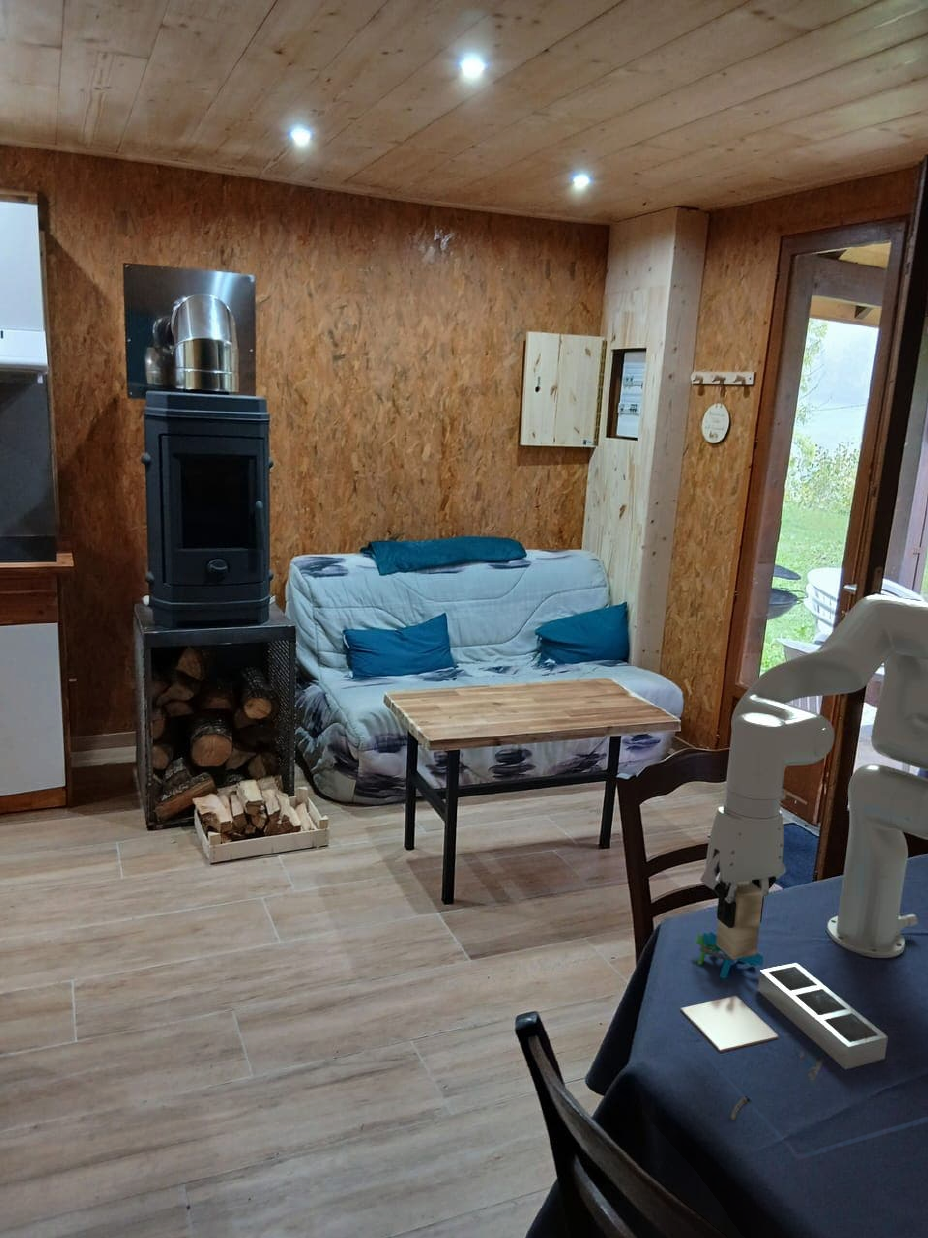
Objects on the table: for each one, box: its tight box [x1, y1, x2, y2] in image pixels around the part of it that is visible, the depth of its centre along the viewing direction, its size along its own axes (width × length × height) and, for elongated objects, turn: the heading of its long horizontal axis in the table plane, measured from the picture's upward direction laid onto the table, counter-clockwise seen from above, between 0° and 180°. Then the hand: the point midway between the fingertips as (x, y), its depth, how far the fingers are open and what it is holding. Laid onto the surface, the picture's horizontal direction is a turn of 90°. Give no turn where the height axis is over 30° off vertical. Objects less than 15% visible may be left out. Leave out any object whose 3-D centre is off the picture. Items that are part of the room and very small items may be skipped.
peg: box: [716, 881, 763, 960], centre depth 135 cm, size 4×4×10 cm
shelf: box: [757, 962, 889, 1070], centre depth 139 cm, size 7×19×4 cm, turn 21°
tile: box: [680, 995, 779, 1053], centre depth 139 cm, size 10×10×1 cm
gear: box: [695, 931, 764, 979], centre depth 152 cm, size 11×6×10 cm
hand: (738, 919), depth 135 cm, fingers closed on peg, 4 cm apart
